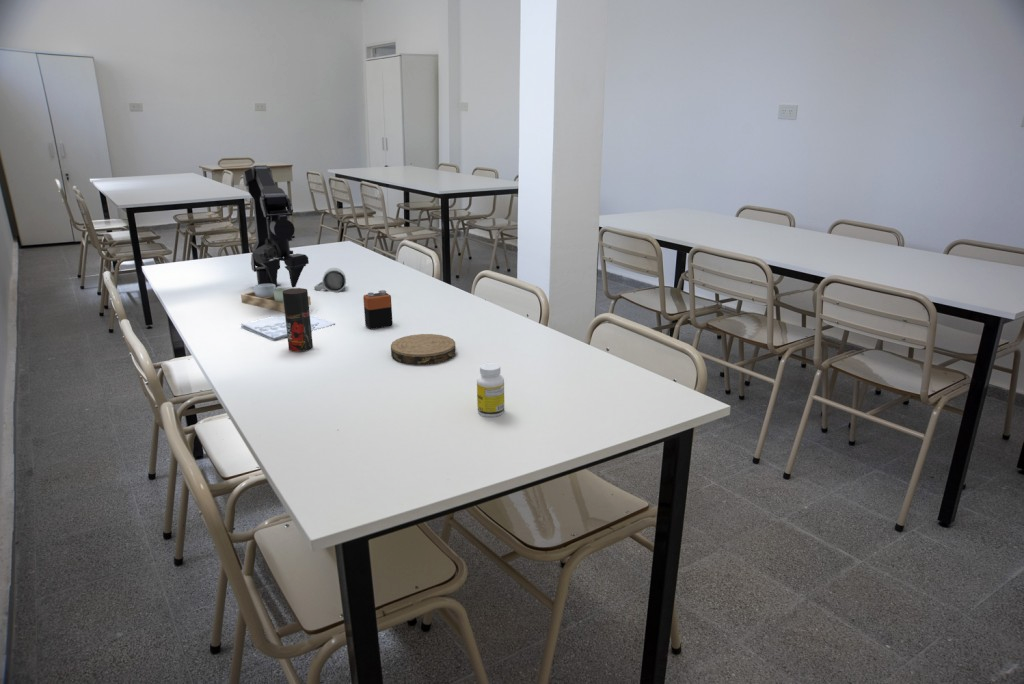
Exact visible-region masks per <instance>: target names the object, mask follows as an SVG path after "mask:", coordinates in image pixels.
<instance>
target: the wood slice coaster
mask: <svg viewBox="0 0 1024 684" xmlns="http://www.w3.org/2000/svg"><path fill="white" fill-rule="evenodd" d="M456 349H457V348H456V341H455V340H454V339H453V338H451V337H450V336H447V335H443V334H434V333H421V334H420V333H419V334H412V335H411V334H410V335H405V336H403V337H399V338H397V339H395V340H394V341H392V342H391V344H390V354H391V355H390V356H391V358H392V360H393V361H396V362H397V363H400V364H403V365H412V366H428V365H437V364H441V363H445V362H447V361H449V360H451V359H454V357H455V355H456V353H457V352H456Z"/></svg>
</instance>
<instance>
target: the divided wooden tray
mask: <svg viewBox="0 0 1024 684" xmlns="http://www.w3.org/2000/svg"><path fill="white" fill-rule="evenodd" d="M240 298H241V303H243V304H247V305H251V306H256V307H259V308H264V309H268V310H272V311H276V312H280V313H281V312H282V313H285V310H284V303H282V302H277V301H275V299H274V296H270V297H266V298H259V297H255V291H250V292H247V293H242V294H240ZM308 302H309V306H310V305H311V304H312V303H311V296H309V295H308Z"/></svg>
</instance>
